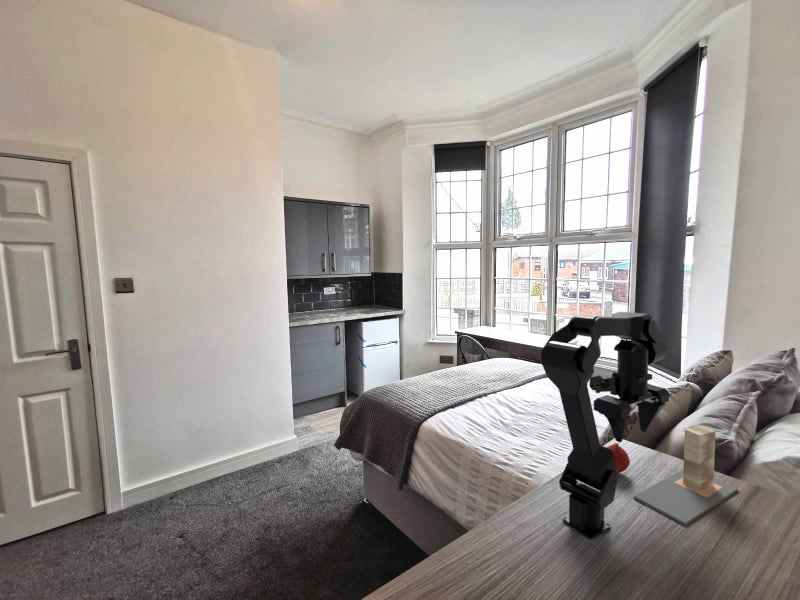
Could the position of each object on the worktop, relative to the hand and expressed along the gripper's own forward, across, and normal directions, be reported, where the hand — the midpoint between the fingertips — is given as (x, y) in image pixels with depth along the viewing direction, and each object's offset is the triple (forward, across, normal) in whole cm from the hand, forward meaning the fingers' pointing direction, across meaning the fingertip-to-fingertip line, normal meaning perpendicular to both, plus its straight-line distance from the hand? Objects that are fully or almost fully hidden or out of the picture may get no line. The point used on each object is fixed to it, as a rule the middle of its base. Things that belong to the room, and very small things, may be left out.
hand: (631, 436), depth 83 cm
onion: (+13, -4, -6) cm, 15 cm away
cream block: (+12, -14, +7) cm, 20 cm away
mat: (+13, -9, +7) cm, 17 cm away
